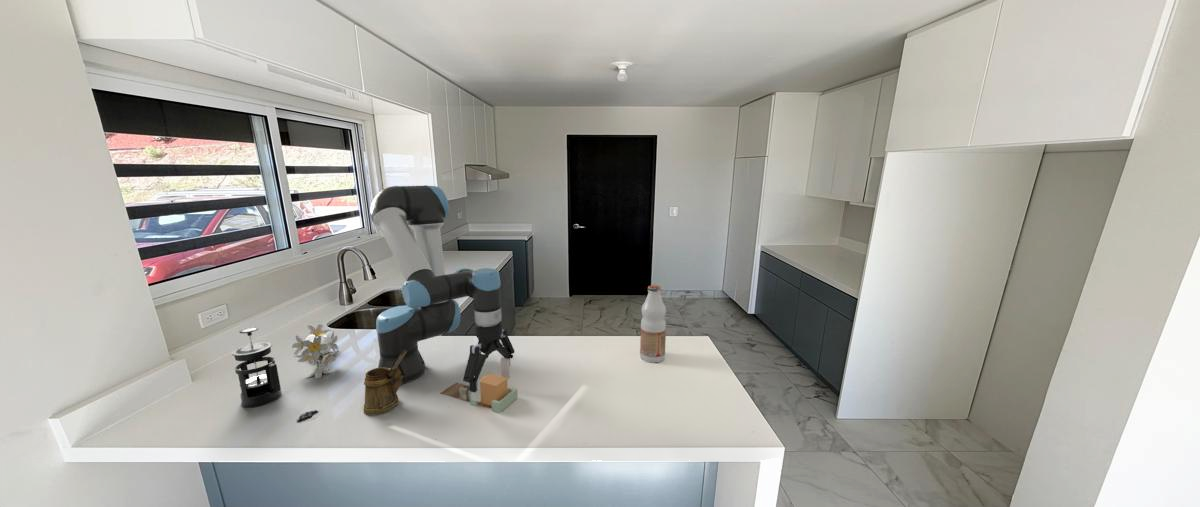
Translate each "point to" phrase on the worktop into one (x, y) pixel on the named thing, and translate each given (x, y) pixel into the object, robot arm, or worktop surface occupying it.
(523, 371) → the worktop surface
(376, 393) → the wooden mug
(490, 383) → the plug
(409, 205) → the robot arm
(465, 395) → the board
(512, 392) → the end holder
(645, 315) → the fruit juice
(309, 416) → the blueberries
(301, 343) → the flower vase
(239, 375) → the french press
